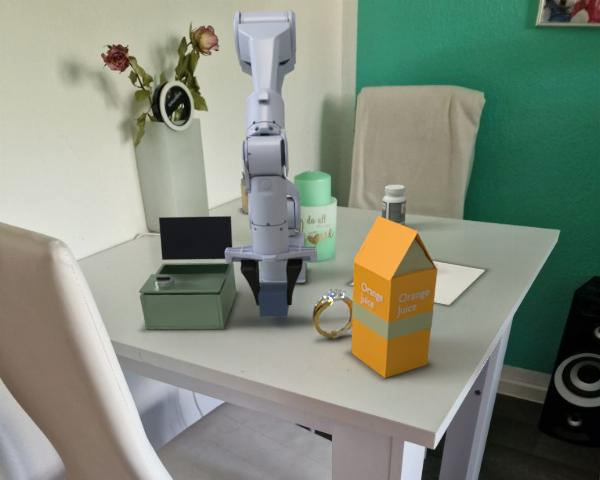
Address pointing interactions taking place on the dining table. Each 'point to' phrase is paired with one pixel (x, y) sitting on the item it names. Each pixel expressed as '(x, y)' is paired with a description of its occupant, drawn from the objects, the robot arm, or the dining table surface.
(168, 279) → the white disc with bar
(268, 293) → the navy cube
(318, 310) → the gold ring
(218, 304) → the washer
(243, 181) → the brown furry upright figure
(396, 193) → the pill bottle
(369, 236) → the orange juice
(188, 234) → the lid
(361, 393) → the dining table surface
